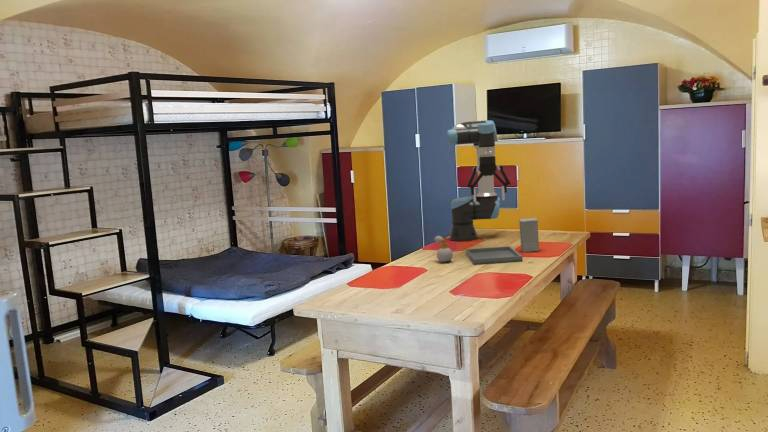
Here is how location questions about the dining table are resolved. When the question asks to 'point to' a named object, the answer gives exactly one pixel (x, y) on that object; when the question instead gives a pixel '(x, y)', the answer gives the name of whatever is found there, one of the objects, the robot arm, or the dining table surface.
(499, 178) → the robot arm
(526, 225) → the skincare box
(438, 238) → the perfume bottle
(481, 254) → the tray
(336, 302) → the dining table surface
